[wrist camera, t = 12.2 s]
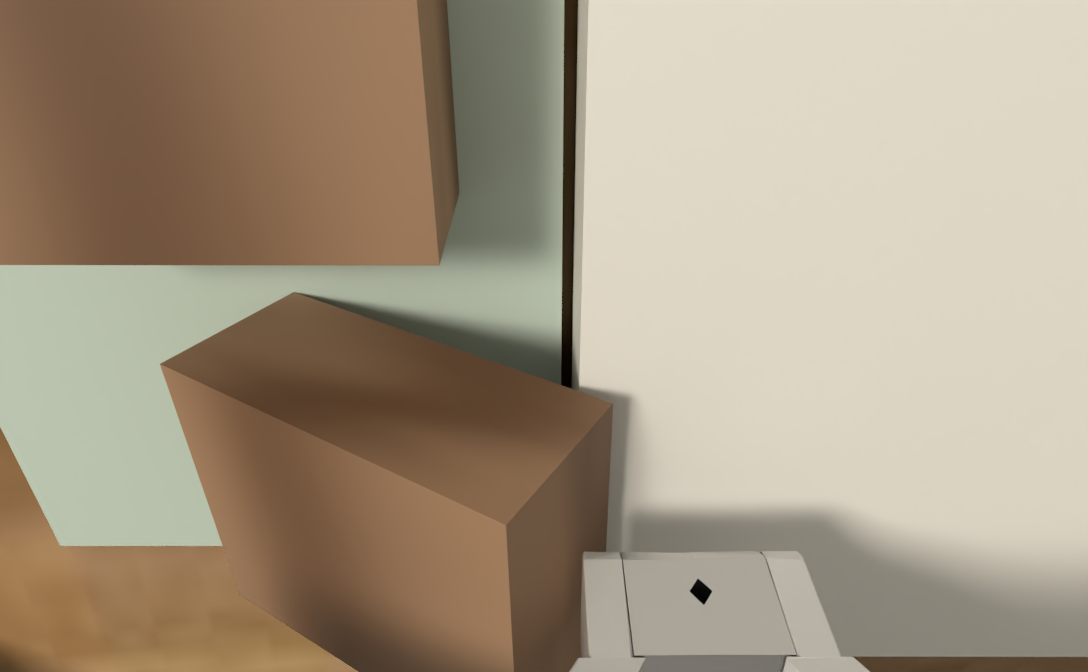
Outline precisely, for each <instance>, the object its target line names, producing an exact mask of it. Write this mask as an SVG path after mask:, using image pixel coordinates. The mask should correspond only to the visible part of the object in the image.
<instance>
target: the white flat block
mask: <svg viewBox="0 0 1088 672" xmlns="http://www.w3.org/2000/svg"><path fill="white" fill-rule="evenodd" d="M571 389H573V390H576V391H579V392H582V393H585V394H588V395H591V396H593V397H596V398H599V399H602V400H605V401H608V402H611V403H613V417H612V438H611V459H610V479H609V500H608V521H607V541H606V552H619V554H620V552H659V553H688V552H725V551H758V552H761V551H798V552H799V553H800V554H801V555H802V557H803V558H804V561H805V563H806V566H807V568H808V571H809V574H810V576H811V579H812V581H813V584H814V586H815V589H816V592H817V594H818V597H819V599H820V602H821V604H822V607H823V610H824V612H825V615H826V617H827V620H828V622H829V625H830V628H831V630H832V633H833V635H834V638H835V640H836V643H837V646H838V648H839V651H840V653H841V656H844V657H1088V0H578V32H577V90H576V148H575V206H574V264H573V322H572V380H571Z"/></svg>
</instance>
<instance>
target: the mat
mask: <svg viewBox="0 0 1088 672" xmlns="http://www.w3.org/2000/svg"><path fill="white" fill-rule="evenodd" d="M447 9H448V24H449V40H450V55H451V70H452V86H453V101H454V117H455V132H456V147H457V163H458V178H459V197H458V200H457V204H456V208H455V211H454V215H453V218H452V222H451V225H450V229H449V233H448V236H447V240H446V243H445V247H444V250H443V254H442V258H441V261H440V265H439V266H335V265H0V427H1V429H2V431H3V433H4V435H5V437H6V439H7V441H8V443H9V445H10V447H11V449H12V451H13V453H14V455H15V457H16V459H17V461H18V463H19V465H20V467H21V469H22V471H23V473H24V475H25V477H26V479H27V481H28V483H29V485H30V487H31V489H32V491H33V493H34V495H35V497H36V499H37V501H38V503H39V504H40V506H41V508H42V510H43V512H44V514H45V516H46V518H47V520H48V522H49V524H50V526H51V528H52V530H53V532H54V534H55V536H56V538H57V540H58V542H59V544H60V546H223V545H222V542H221V540H220V537H219V534H218V531H217V528H216V525H215V522H214V519H213V516H212V514H211V511H210V508H209V505H208V502H207V499H206V496H205V493H204V490H203V488H202V485H201V482H200V479H199V476H198V473H197V470H196V467H195V464H194V462H193V459H192V456H191V453H190V450H189V447H188V444H187V441H186V438H185V435H184V433H183V430H182V427H181V424H180V421H179V418H178V415H177V412H176V409H175V407H174V404H173V401H172V398H171V395H170V392H169V389H168V386H167V383H166V381H165V378H164V375H163V372H162V369H161V366H160V364H161V363H162V362H164V361H166V360H168V359H170V358H172V357H174V356H175V355H177V354H179V353H181V352H183V351H185V350H187V349H188V348H190V347H192V346H194V345H196V344H198V343H200V342H202V341H203V340H205V339H207V338H209V337H211V336H213V335H215V334H216V333H218V332H220V331H222V330H224V329H226V328H228V327H229V326H231V325H233V324H235V323H237V322H239V321H241V320H243V319H244V318H246V317H248V316H250V315H252V314H254V313H256V312H257V311H259V310H261V309H263V308H265V307H267V306H269V305H270V304H272V303H274V302H276V301H278V300H280V299H282V298H283V297H285V296H287V295H289V294H291V293H293V292H295V293H298V294H301V295H304V296H307V297H310V298H312V299H315V300H318V301H321V302H324V303H327V304H330V305H332V306H335V307H338V308H341V309H344V310H347V311H350V312H353V313H355V314H358V315H361V316H364V317H367V318H370V319H373V320H376V321H378V322H381V323H384V324H387V325H390V326H393V327H396V328H398V329H401V330H404V331H407V332H410V333H413V334H416V335H419V336H421V337H424V338H427V339H430V340H433V341H436V342H439V343H441V344H444V345H447V346H450V347H453V348H456V349H459V350H462V351H464V352H467V353H470V354H473V355H476V356H479V357H482V358H484V359H487V360H490V361H493V362H496V363H499V364H502V365H505V366H507V367H510V368H513V369H516V370H519V371H522V372H525V373H528V374H530V375H533V376H536V377H539V378H542V379H545V380H548V381H550V382H553V383H556V384H559V385H561V346H562V224H563V102H564V0H447Z"/></svg>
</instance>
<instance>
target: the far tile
mask: <svg viewBox="0 0 1088 672" xmlns="http://www.w3.org/2000/svg"><path fill="white" fill-rule="evenodd" d="M160 366H161V369H162V372H163V375H164V378H165V381H166V383H167V386H168V389H169V392H170V395H171V398H172V401H173V404H174V407H175V409H176V412H177V415H178V418H179V421H180V424H181V427H182V430H183V433H184V435H185V438H186V441H187V444H188V447H189V450H190V453H191V456H192V459H193V462H194V464H195V467H196V470H197V473H198V476H199V479H200V482H201V485H202V488H203V490H204V493H205V496H206V499H207V502H208V505H209V508H210V511H211V514H212V516H213V519H214V522H215V525H216V528H217V531H218V534H219V537H220V540H221V542H222V545H223V548H224V551H225V554H226V557H227V560H228V563H229V566H230V568H231V571H232V574H233V577H234V580H235V583H236V586H237V589H238V592H239V595H241V596H242V597H244V598H245V599H247V600H248V601H250V602H251V603H253V604H255V605H256V606H258V607H259V608H261V609H262V610H264V611H265V612H267V613H269V614H270V615H272V616H273V617H275V618H276V619H278V620H279V621H281V622H283V623H284V624H286V625H287V626H289V627H290V628H292V629H293V630H295V631H297V632H298V633H300V634H301V635H303V636H304V637H306V638H307V639H309V640H310V641H312V642H314V643H315V644H317V645H318V646H320V647H321V648H323V649H324V650H326V651H328V652H329V653H331V654H332V655H334V656H335V657H337V658H338V659H340V660H342V661H343V662H345V663H346V664H348V665H349V666H351V667H352V668H354V669H356V670H357V671H359V672H569V671H570V670H571V668H572V667H573V665H574V663H575V662H576V660H577V659H578V658H581V581H582V555H583V552H606V541H607V521H608V500H609V479H610V459H611V438H612V417H613V403H611V402H608V401H605V400H602V399H599V398H596V397H593V396H591V395H588V394H585V393H582V392H579V391H576V390H573V389H571V388H568V387H565V386H562V385H559V384H556V383H553V382H550V381H548V380H545V379H542V378H539V377H536V376H533V375H530V374H528V373H525V372H522V371H519V370H516V369H513V368H510V367H507V366H505V365H502V364H499V363H496V362H493V361H490V360H487V359H484V358H482V357H479V356H476V355H473V354H470V353H467V352H464V351H462V350H459V349H456V348H453V347H450V346H447V345H444V344H441V343H439V342H436V341H433V340H430V339H427V338H424V337H421V336H419V335H416V334H413V333H410V332H407V331H404V330H401V329H398V328H396V327H393V326H390V325H387V324H384V323H381V322H378V321H376V320H373V319H370V318H367V317H364V316H361V315H358V314H355V313H353V312H350V311H347V310H344V309H341V308H338V307H335V306H332V305H330V304H327V303H324V302H321V301H318V300H315V299H312V298H310V297H307V296H304V295H301V294H298V293H295V292H293V293H291V294H289V295H287V296H285V297H283V298H282V299H280V300H278V301H276V302H274V303H272V304H270V305H269V306H267V307H265V308H263V309H261V310H259V311H257V312H256V313H254V314H252V315H250V316H248V317H246V318H244V319H243V320H241V321H239V322H237V323H235V324H233V325H231V326H229V327H228V328H226V329H224V330H222V331H220V332H218V333H216V334H215V335H213V336H211V337H209V338H207V339H205V340H203V341H202V342H200V343H198V344H196V345H194V346H192V347H190V348H188V349H187V350H185V351H183V352H181V353H179V354H177V355H175V356H174V357H172V358H170V359H168V360H166V361H164V362H162V363H161V364H160Z"/></svg>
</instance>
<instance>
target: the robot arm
mask: <svg viewBox="0 0 1088 672" xmlns="http://www.w3.org/2000/svg"><path fill="white" fill-rule="evenodd" d="M569 672H870V671H869V670H868V669H867V668H865V667H864V666H863V665H862V664H861V663H860V662H859V661H857V660H856V659H855V658H854V657H844V656H841V653H840V651H839V648H838V646H837V643H836V640H835V638H834V635H833V633H832V630H831V628H830V625H829V622H828V620H827V617H826V615H825V612H824V610H823V607H822V604H821V602H820V599H819V597H818V594H817V592H816V589H815V586H814V584H813V581H812V579H811V576H810V574H809V571H808V568H807V566H806V563H805V561H804V558H803V557H802V555H801V554H800V553H799V552H798V551H761V552H758V551H725V552H688V553H659V552H620V554H619V552H583V555H582V581H581V658H578V659H577V660H576V662H575V663H574V665H573V667H572V668H571V670H570V671H569Z"/></svg>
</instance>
